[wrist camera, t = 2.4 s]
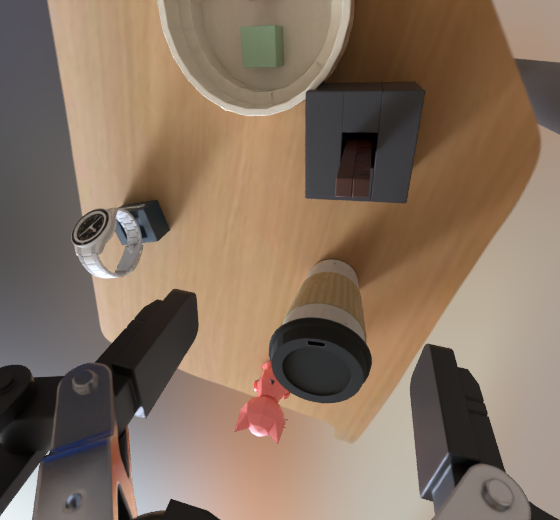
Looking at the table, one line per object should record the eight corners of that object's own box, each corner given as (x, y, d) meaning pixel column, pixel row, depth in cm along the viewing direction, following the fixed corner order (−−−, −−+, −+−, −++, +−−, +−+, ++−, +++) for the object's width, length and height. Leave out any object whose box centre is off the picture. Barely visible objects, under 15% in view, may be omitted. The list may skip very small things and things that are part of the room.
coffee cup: (296, 306, 47) (267, 398, 35) (293, 243, 42) (259, 325, 30) (369, 314, 45) (367, 415, 33) (376, 249, 40) (376, 340, 28)
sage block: (283, 26, 30) (275, 24, 28) (284, 65, 32) (276, 67, 29) (250, 28, 31) (240, 26, 28) (253, 66, 32) (243, 68, 30)
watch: (150, 185, 43) (90, 222, 34) (174, 241, 46) (126, 289, 37) (114, 191, 44) (48, 228, 35) (140, 245, 48) (86, 292, 39)
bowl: (363, -121, 25) (360, -158, 20) (348, 106, 33) (344, 115, 28) (174, -94, 28) (135, -120, 24) (202, 107, 36) (177, 115, 32)
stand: (416, 81, 31) (425, 89, 25) (401, 177, 35) (406, 203, 29) (317, 83, 32) (305, 91, 27) (316, 174, 37) (305, 198, 31)
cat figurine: (255, 375, 57) (230, 444, 47) (257, 347, 53) (230, 415, 44) (296, 386, 56) (279, 459, 46) (301, 358, 52) (284, 431, 43)
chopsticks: (372, 126, 33) (370, 179, 20) (371, 138, 34) (368, 198, 21) (351, 126, 34) (336, 177, 21) (350, 138, 34) (334, 196, 21)
